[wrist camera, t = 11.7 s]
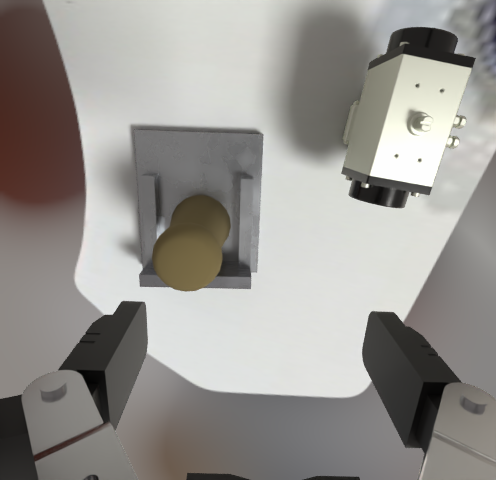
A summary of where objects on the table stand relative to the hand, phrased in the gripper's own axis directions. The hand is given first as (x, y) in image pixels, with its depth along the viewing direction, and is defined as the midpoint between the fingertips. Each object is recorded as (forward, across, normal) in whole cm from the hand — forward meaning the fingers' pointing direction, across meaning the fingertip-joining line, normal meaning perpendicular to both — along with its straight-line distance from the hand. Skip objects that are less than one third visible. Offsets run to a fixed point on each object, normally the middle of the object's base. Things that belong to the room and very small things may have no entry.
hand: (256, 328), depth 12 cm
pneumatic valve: (+24, -11, -7) cm, 28 cm away
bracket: (+24, +5, +1) cm, 24 cm away
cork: (+23, +4, +3) cm, 24 cm away
